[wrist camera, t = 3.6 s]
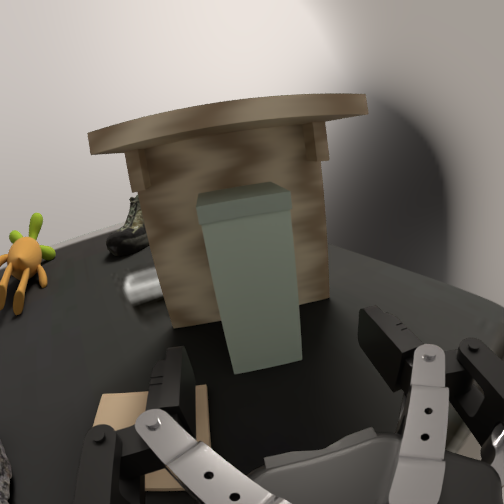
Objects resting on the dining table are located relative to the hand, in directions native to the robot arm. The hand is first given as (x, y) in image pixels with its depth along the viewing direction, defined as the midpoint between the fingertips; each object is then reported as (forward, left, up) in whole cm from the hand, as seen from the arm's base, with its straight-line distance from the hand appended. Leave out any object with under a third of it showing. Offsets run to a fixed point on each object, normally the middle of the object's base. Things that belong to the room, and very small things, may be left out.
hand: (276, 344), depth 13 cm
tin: (0, +8, -7) cm, 10 cm away
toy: (-41, +35, -7) cm, 54 cm away
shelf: (0, +10, -7) cm, 12 cm away
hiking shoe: (-17, +48, -7) cm, 52 cm away
